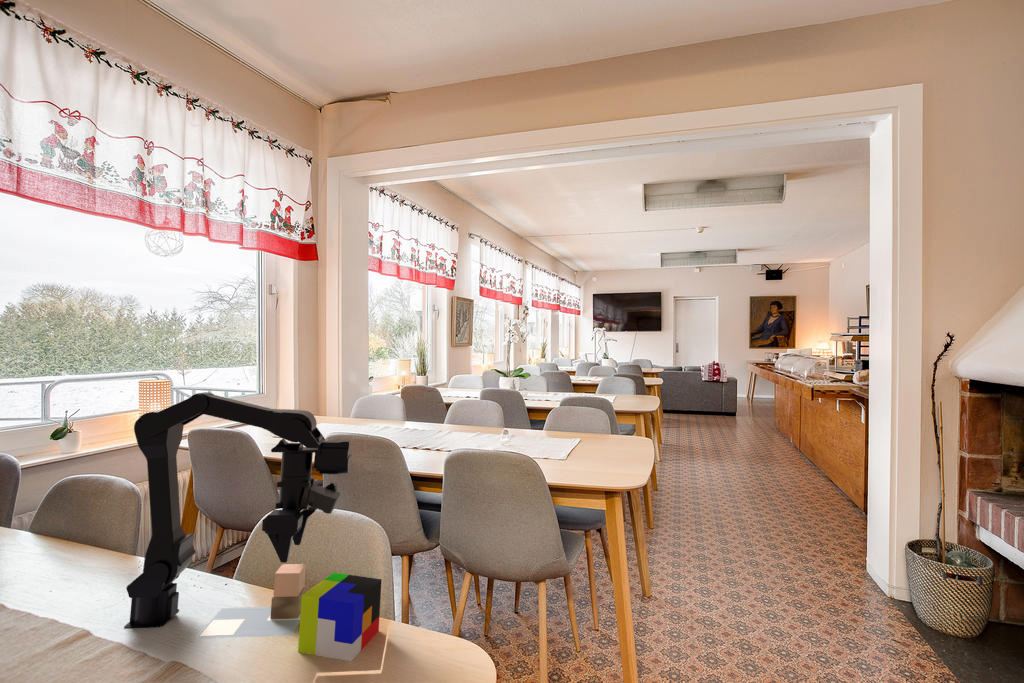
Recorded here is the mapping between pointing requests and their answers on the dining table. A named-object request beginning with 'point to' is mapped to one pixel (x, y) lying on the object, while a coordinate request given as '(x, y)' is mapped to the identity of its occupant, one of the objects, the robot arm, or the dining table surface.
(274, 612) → the block
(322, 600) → the puzzle toy
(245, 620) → the board
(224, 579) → the dining table surface
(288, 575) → the terracotta block
